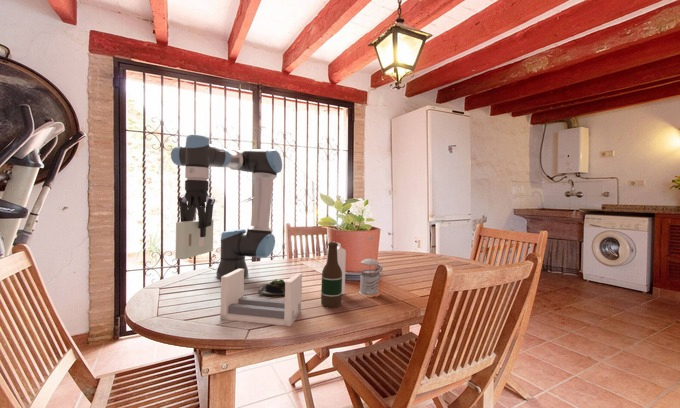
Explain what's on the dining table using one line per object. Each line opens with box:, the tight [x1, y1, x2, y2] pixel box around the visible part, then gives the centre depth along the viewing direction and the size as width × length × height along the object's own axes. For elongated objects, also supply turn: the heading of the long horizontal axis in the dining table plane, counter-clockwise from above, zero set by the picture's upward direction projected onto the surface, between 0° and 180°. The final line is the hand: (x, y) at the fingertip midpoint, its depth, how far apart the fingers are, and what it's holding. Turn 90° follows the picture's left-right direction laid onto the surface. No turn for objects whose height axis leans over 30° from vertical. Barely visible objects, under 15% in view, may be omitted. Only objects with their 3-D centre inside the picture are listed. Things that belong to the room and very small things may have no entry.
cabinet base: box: [219, 269, 303, 327], centre depth 105 cm, size 24×12×14 cm, turn 81°
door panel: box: [175, 219, 214, 260], centre depth 108 cm, size 16×3×12 cm, turn 169°
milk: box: [325, 241, 347, 295], centre depth 131 cm, size 6×6×22 cm
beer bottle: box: [320, 241, 342, 309], centre depth 117 cm, size 8×8×24 cm
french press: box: [358, 236, 383, 295], centre depth 132 cm, size 10×12×25 cm
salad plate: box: [257, 278, 286, 298], centre depth 134 cm, size 19×18×5 cm
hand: (195, 245), depth 108 cm, fingers closed on door panel, 3 cm apart
